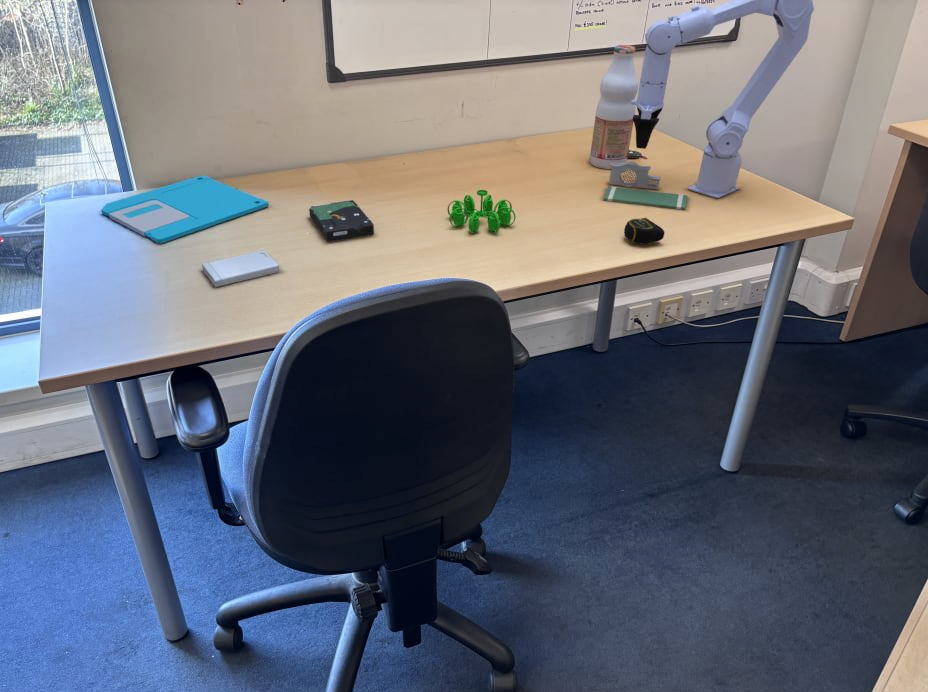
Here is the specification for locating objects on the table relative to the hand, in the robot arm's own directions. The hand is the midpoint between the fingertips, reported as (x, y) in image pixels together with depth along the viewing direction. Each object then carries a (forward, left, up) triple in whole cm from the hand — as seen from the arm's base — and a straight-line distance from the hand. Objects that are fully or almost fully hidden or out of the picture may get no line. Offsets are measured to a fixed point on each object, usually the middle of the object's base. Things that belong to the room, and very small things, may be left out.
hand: (642, 143), depth 172 cm
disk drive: (+68, -27, -11) cm, 73 cm away
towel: (+5, +6, -10) cm, 13 cm away
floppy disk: (+88, -58, -10) cm, 106 cm away
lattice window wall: (0, 0, -11) cm, 11 cm away
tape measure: (+24, +19, -11) cm, 33 cm away
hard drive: (+94, -22, -11) cm, 98 cm away
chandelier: (+44, -9, -11) cm, 46 cm away
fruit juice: (-8, -15, -11) cm, 20 cm away
